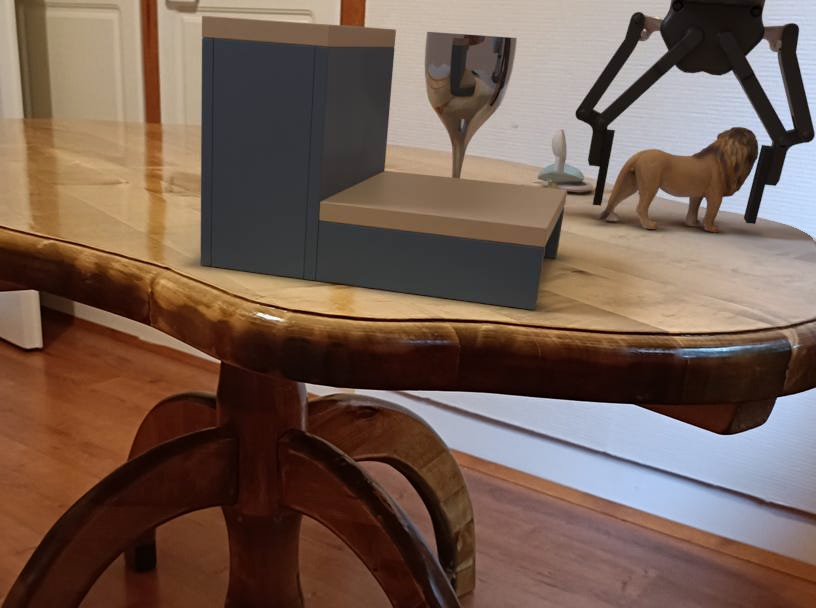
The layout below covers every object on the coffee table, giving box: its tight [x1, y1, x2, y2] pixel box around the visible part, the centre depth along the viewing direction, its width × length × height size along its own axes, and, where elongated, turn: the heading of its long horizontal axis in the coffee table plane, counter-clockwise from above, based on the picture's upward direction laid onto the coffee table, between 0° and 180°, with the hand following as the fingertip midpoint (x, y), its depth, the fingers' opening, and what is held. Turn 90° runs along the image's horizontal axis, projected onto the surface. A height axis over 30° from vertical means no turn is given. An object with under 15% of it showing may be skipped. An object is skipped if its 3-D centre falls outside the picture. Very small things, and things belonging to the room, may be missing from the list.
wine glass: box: [423, 31, 518, 179], centre depth 87 cm, size 8×8×15 cm
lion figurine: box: [596, 126, 759, 233], centre depth 87 cm, size 15×5×9 cm, turn 105°
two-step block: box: [200, 15, 568, 311], centre depth 65 cm, size 22×17×15 cm
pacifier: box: [537, 129, 594, 193], centre depth 105 cm, size 7×6×6 cm
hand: (671, 212), depth 89 cm, fingers open, 13 cm apart
